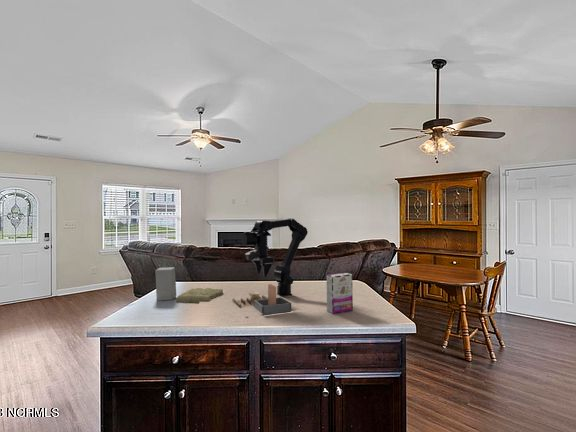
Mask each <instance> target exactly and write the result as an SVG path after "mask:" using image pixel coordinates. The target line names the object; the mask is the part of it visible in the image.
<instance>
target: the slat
mask: <svg viewBox="0 0 576 432" xmlns="http://www.w3.org/2000/svg"><path fill="white" fill-rule="evenodd" d="M267 298H268V305H276V298H277V286H276V285H274V284H268V285H267Z"/></svg>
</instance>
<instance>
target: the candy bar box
mask: <svg viewBox="0 0 576 432" xmlns="http://www.w3.org/2000/svg"><path fill="white" fill-rule="evenodd" d="M353 297H354V295H353V274H352V273H348V272H343V273H342V272H341V273H334V274H332V273H331V274H327V275H326V312H328V313H330V314H332V315H334V314H339V313H341V314H342V313H347V312H351V311H353V310H354V309H353V308H354V306H353V305H354V304H353V302H354V300H353Z"/></svg>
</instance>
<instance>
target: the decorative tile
mask: <svg viewBox="0 0 576 432" xmlns="http://www.w3.org/2000/svg"><path fill="white" fill-rule="evenodd" d="M222 295H224V291H223V288H211V287H206V288H205V287H204V288H203V287H202V288H201V287H196V288H191V289H188V290H186V291H185V292H182V293H180V294H179V295H178V296H176V297H175V303H197V302H198V303H200V302H211V301H212V299H215V298H216V297H219V296H222Z"/></svg>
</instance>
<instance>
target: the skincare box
mask: <svg viewBox="0 0 576 432" xmlns="http://www.w3.org/2000/svg"><path fill="white" fill-rule="evenodd" d="M155 286H156V287H155V292H156V294H155V296H156V301H173V300H174V299H176V298H177V280H176V267H174V266H173V267H172V266H171V267H158V268H156V269H155Z"/></svg>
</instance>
